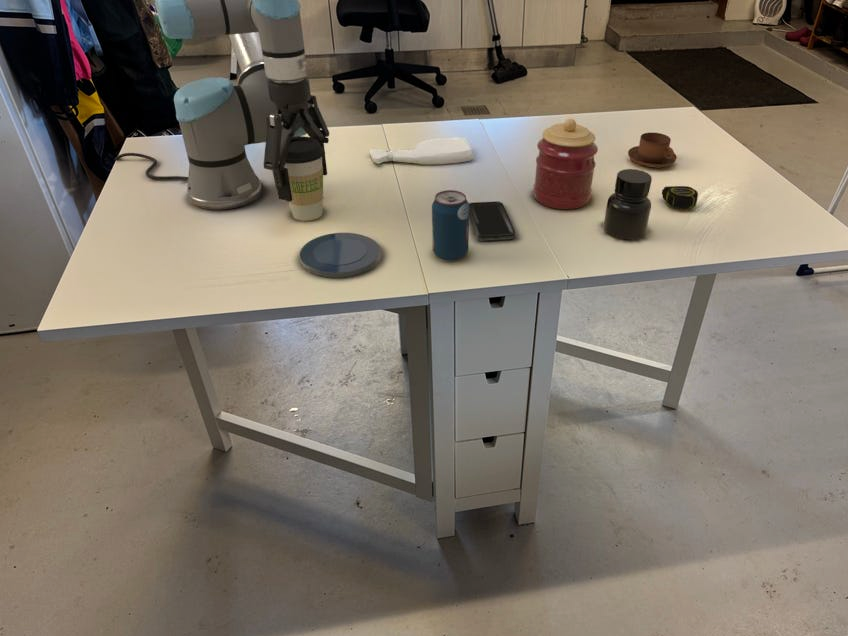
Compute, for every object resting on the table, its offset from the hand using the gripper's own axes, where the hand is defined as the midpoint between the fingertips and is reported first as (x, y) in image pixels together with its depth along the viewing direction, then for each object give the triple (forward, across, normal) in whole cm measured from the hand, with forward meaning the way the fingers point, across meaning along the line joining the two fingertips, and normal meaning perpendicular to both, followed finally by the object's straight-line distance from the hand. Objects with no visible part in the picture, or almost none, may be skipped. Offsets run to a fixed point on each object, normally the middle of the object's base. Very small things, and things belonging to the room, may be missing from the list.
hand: (303, 186), depth 135 cm
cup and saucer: (+7, +58, -64) cm, 87 cm away
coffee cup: (+7, 0, 0) cm, 7 cm away
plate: (+7, -13, -15) cm, 21 cm away
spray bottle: (+6, +37, -10) cm, 39 cm away
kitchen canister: (+7, +29, -48) cm, 56 cm away
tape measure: (+7, +36, -73) cm, 81 cm away
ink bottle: (+7, +19, -64) cm, 67 cm away
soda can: (+7, -4, -34) cm, 35 cm away
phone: (+7, +11, -37) cm, 39 cm away
